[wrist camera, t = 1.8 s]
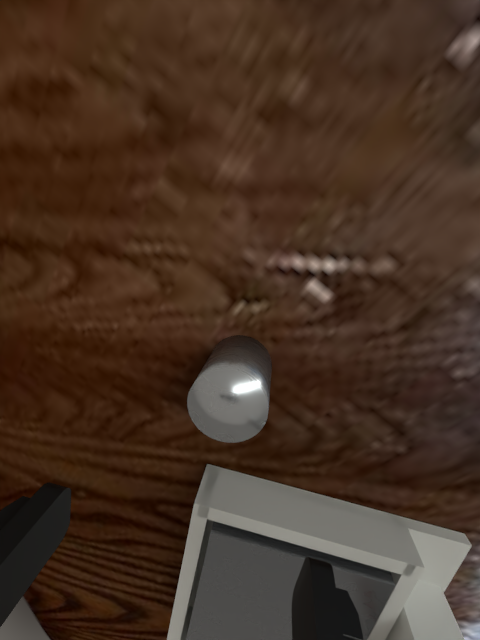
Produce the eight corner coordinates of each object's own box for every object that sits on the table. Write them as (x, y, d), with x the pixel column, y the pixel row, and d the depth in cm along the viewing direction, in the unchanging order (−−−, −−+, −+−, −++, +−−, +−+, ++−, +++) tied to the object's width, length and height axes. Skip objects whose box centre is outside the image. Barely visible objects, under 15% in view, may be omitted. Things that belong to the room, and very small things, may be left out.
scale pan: (389, 567, 22) (395, 585, 21) (333, 679, 27) (335, 699, 26) (214, 517, 23) (210, 532, 22) (187, 633, 28) (183, 650, 26)
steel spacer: (278, 343, 22) (276, 381, 16) (264, 398, 24) (258, 451, 18) (216, 328, 23) (193, 361, 17) (205, 384, 24) (181, 431, 18)
